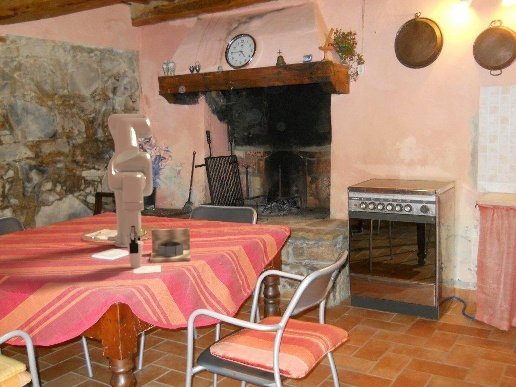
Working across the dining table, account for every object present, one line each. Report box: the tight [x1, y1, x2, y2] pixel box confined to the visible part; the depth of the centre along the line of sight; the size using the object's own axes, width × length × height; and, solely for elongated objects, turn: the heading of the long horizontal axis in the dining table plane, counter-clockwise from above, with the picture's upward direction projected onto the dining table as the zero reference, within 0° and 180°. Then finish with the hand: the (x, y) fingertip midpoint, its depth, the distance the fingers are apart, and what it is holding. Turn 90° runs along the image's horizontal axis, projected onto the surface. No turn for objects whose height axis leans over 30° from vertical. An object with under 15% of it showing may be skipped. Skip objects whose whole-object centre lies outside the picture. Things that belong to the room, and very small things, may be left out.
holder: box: [149, 227, 191, 263], centre depth 216 cm, size 16×16×10 cm
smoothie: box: [127, 240, 145, 269], centre depth 200 cm, size 6×6×14 cm
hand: (135, 250), depth 200 cm, fingers open, 9 cm apart
